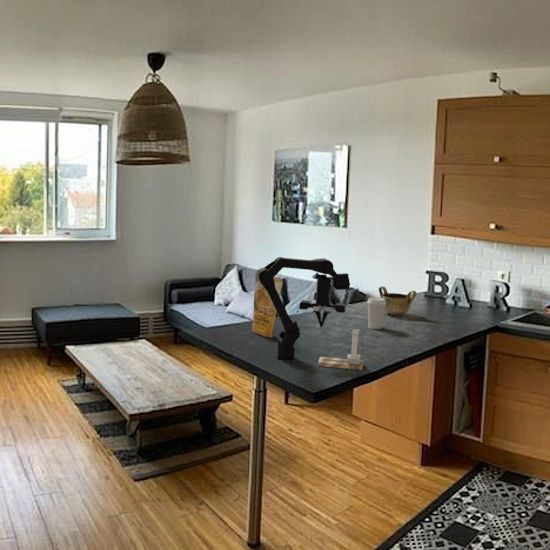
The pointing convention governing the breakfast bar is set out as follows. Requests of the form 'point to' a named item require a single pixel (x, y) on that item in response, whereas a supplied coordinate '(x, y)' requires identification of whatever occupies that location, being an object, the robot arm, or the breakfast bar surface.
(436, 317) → the breakfast bar surface
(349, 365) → the fader console
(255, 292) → the pancake mix bag
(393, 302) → the basket with handles
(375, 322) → the coffee cup
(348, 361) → the fader tab
